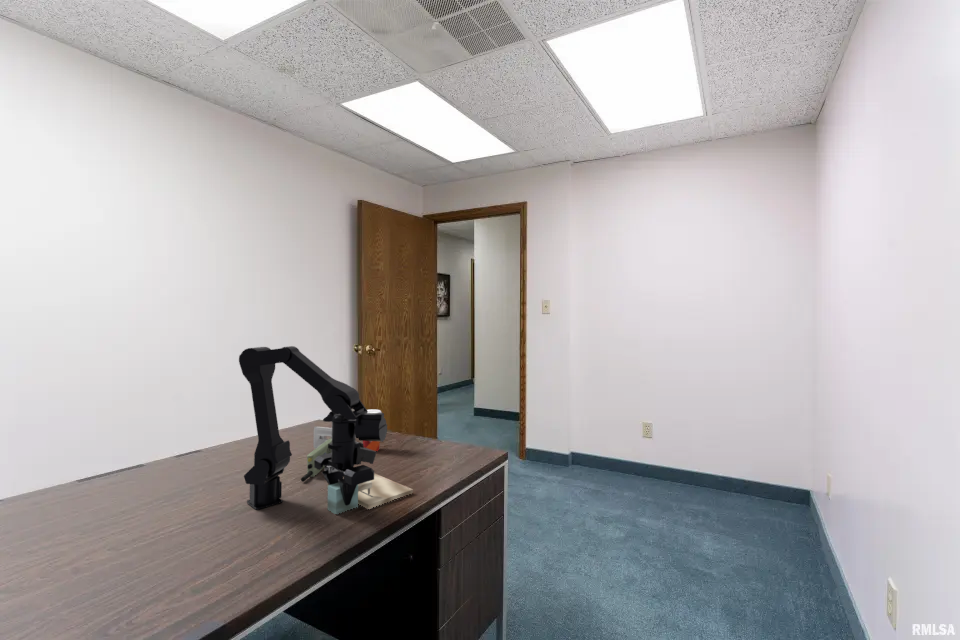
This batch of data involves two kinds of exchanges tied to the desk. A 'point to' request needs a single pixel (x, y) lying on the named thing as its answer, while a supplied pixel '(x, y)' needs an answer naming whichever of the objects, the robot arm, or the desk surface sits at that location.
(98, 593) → the desk surface
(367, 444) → the paper cup
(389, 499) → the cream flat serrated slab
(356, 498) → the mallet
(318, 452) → the handheld radio
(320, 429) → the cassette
